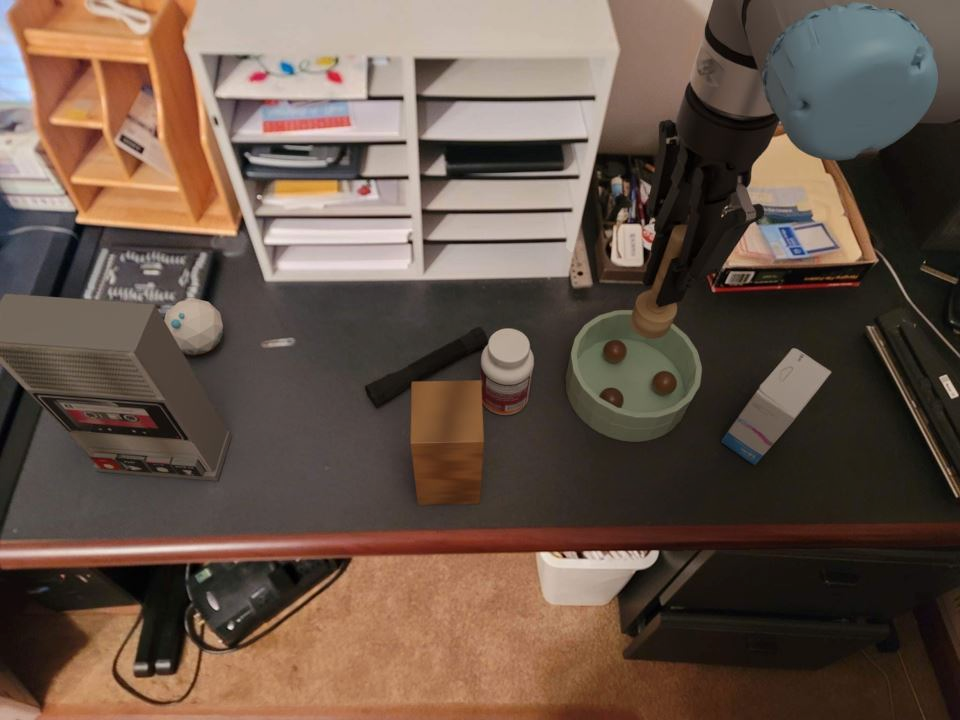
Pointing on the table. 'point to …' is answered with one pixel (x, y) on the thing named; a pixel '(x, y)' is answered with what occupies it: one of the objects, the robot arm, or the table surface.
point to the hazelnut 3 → (664, 383)
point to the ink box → (775, 405)
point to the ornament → (194, 326)
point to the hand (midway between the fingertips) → (662, 290)
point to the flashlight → (424, 367)
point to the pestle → (646, 311)
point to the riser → (447, 441)
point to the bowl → (631, 378)
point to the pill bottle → (506, 372)
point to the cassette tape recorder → (114, 384)
